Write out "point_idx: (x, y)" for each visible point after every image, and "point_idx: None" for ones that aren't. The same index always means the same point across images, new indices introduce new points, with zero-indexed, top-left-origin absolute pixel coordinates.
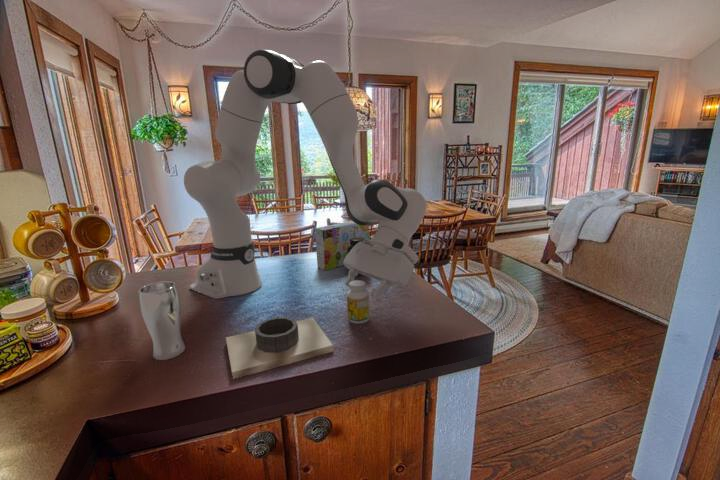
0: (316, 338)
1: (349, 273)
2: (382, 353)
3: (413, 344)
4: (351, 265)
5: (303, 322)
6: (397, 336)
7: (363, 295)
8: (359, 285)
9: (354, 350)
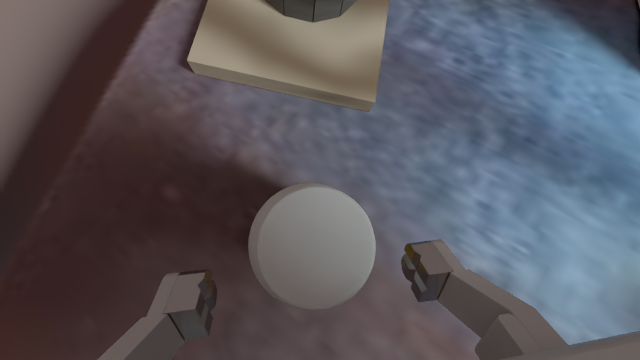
0: (252, 48)
1: (504, 299)
2: (77, 168)
3: (26, 285)
4: (584, 357)
5: (361, 67)
6: (110, 274)
7: (250, 241)
8: (268, 230)
9: (155, 117)
